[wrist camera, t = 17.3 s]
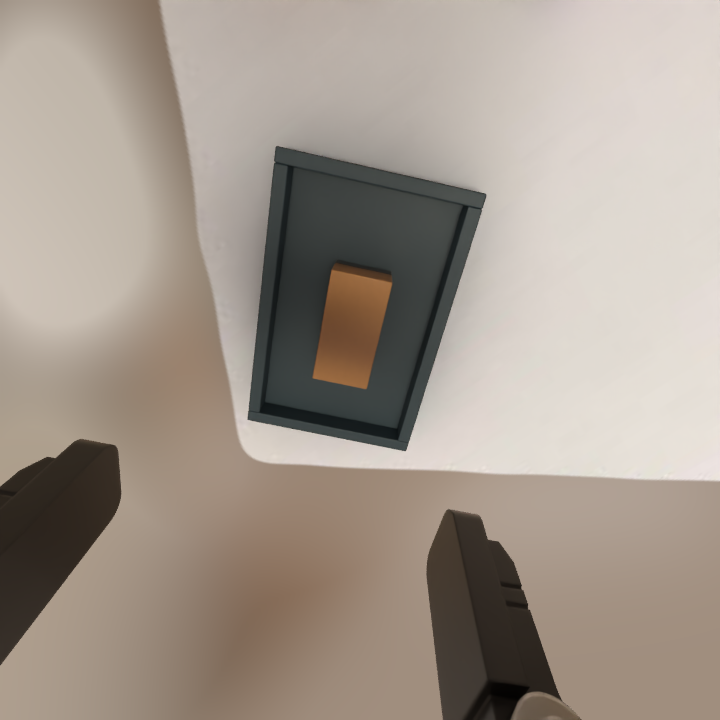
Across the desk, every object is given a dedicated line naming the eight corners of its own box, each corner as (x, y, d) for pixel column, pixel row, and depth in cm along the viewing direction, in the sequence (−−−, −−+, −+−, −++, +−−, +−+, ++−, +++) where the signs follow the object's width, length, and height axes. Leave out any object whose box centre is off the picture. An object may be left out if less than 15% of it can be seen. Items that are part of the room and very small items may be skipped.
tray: (284, 148, 23) (275, 145, 21) (478, 192, 24) (487, 194, 22) (255, 404, 30) (247, 420, 29) (404, 434, 31) (406, 451, 29)
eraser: (336, 259, 25) (331, 269, 22) (391, 271, 25) (392, 282, 22) (318, 358, 28) (312, 378, 25) (368, 369, 28) (366, 389, 25)
